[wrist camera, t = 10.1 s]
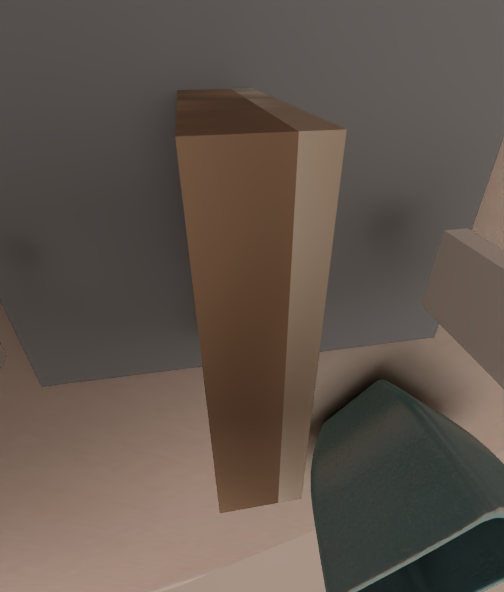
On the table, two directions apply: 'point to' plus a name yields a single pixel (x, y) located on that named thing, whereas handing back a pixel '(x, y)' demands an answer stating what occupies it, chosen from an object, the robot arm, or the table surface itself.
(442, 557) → the flower pot
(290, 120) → the walnut tile
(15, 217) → the mat
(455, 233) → the robot arm
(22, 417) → the table surface
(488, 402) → the table surface
